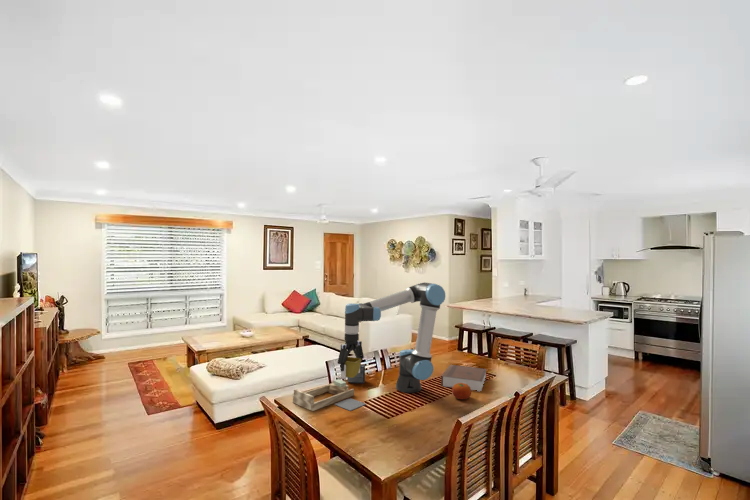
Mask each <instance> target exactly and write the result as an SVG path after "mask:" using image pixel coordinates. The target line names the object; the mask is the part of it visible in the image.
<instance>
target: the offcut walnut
mask: <svg viewBox="0 0 750 500" xmlns="http://www.w3.org/2000/svg"><path fill="white" fill-rule="evenodd" d="M348 390H349V389H348ZM348 390H347V391H348ZM342 392H343V391H337V390H331V389H330V388H329V391H328V394H331V395H337V394H339V393H342Z"/></svg>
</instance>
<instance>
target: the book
mask: <svg viewBox="0 0 750 500" xmlns="http://www.w3.org/2000/svg"><path fill="white" fill-rule="evenodd" d="M486 373H487V368H479V367H474V366H473V367H471V366H463V365H455V364H449V365H448V366H447V368H446V369H445V371H444V372H443V373H442V375H441V378H440V381H441V382H440V385H441V387H447V388H453V386H454V385H455V384H457V383H465V384H467V385H468V386H469V387H470V388H471V391H473V390H477V391H476V392H480V391H481V392H482V390H483V387H484V385H483V384H485V382H486V379H485V378H487V377H486V376H487V374H486ZM484 381H485V382H484Z"/></svg>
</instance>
